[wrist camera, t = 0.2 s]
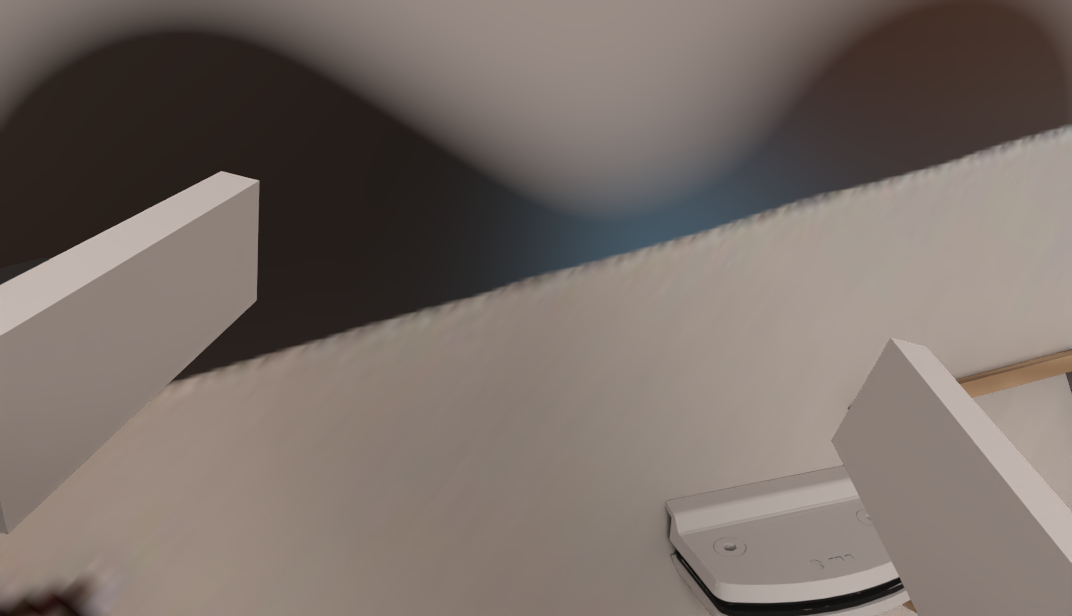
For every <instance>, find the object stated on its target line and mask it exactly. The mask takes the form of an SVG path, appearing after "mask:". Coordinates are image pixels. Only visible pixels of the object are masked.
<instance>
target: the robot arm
mask: <svg viewBox="0 0 1072 616" xmlns="http://www.w3.org/2000/svg"><path fill="white" fill-rule="evenodd" d="M258 210H259V181H258V180H254V179H250V178H246V177H242V176H238V175H234V174H230V173H226V172H222V171H221V172H219V173H217V174H215V175H213V176H211V177H209V178H207V179H205V180H203V181H201V182H200V183H198V184H196V185H194V186H192V187H190V188H188V189H186V190H184V191H182V192H180V193H178V194H176V195H174V196H172V197H170V198H168V199H166V200H165V201H163V202H161V203H159V204H157V205H155V206H153V207H151V208H149V209H147V210H145V211H143V212H141V213H139V214H137V215H135V216H133V217H132V218H130V219H128V220H126V221H124V222H122V223H120V224H118V225H116V226H114V227H112V228H110V229H108V230H106V231H104V232H102V233H100V234H98V235H97V236H95V237H93V238H91V239H89V240H87V241H85V242H83V243H81V244H79V245H77V246H75V247H73V248H71V249H69V250H68V251H65V252H63V253H62V254H60V255H58V256H56V257H54V258H52V259H46V258H41V259H37V260H33V261H29V262H25V263H21V264H17V265H13V266H9V267H5V268H3V269H0V532H1V533H5V534H9V533H10V532H11V531H12V530H13V529H14V528H15V527H16V526H17V525H18V524H20V523H21V522H22V521H23V520H24V519H25V518H26V517H27V516H28V515H29V514H30V513H31V512H32V511H33V510H34V509H35V508H37V507H38V506H39V505H40V504H41V503H42V502H43V501H44V500H45V499H46V498H47V497H48V496H49V495H50V494H51V493H52V492H53V491H55V490H56V489H57V488H58V487H59V486H60V485H61V484H62V483H63V482H64V481H65V480H66V479H67V478H68V477H69V476H70V475H72V474H73V473H74V472H75V471H76V470H77V469H78V468H79V467H80V466H81V465H82V464H83V463H84V462H85V461H86V460H87V459H89V458H90V457H91V456H92V455H93V454H94V453H95V452H96V451H97V450H98V449H99V448H100V447H101V446H102V445H103V444H104V443H105V442H107V441H108V440H109V439H110V438H111V437H112V436H113V435H114V434H115V433H116V432H117V431H118V430H119V429H120V428H121V427H122V426H124V425H125V424H126V423H127V422H128V421H129V420H130V419H131V418H132V417H133V416H134V415H135V414H136V413H137V412H138V411H139V410H141V409H142V408H143V407H144V406H145V405H146V404H147V403H148V402H149V401H150V400H151V399H152V398H153V397H154V396H155V395H156V394H158V393H159V392H160V391H161V390H162V389H163V388H164V387H165V386H166V385H167V384H168V383H169V382H170V381H171V380H172V379H173V378H174V377H175V376H177V375H178V374H179V373H180V372H181V371H182V370H183V369H184V368H185V367H186V366H187V365H188V364H189V363H190V362H191V361H193V359H195V358H196V357H197V356H198V355H199V354H200V353H201V352H202V351H203V350H204V349H205V348H206V347H207V346H208V345H210V343H212V342H213V341H214V340H215V339H216V338H217V337H218V336H219V335H220V334H221V333H222V332H223V331H224V330H225V329H226V328H228V327H229V326H230V325H231V324H232V323H233V322H234V321H235V320H236V319H237V318H238V317H239V316H240V315H241V314H242V313H243V312H245V311H246V310H247V309H248V308H249V307H250V306H251V305H252V304H253V303H254V302H255V301H256V300H257V255H258V253H257V252H258ZM831 441H832V443H833V445H834V447H835V449H836V451H837V453H838V455H839V457H840V459H841V461H842V463H843V465H844V467H845V469H846V471H847V473H848V475H849V477H850V479H851V481H852V483H853V485H854V487H855V489H856V491H857V493H858V495H859V497H860V499H861V501H862V503H863V505H864V507H865V509H866V511H867V513H868V515H869V517H870V519H871V521H872V523H873V525H874V527H875V529H876V531H877V533H878V535H879V537H880V539H881V541H882V543H883V545H884V547H885V549H886V551H887V553H888V555H889V557H890V559H891V561H892V563H893V565H894V567H895V569H896V571H897V573H898V575H899V577H900V579H901V581H902V583H903V585H904V587H905V589H906V591H907V593H908V595H909V597H910V599H911V601H912V603H913V605H914V607H915V610H916V612H917V614H918V616H1072V512H1071V510H1070V509H1069V508H1068V507H1067V506H1066V505H1065V504H1064V502H1063V501H1062V500H1061V499H1060V498H1059V497H1058V496H1057V494H1056V493H1055V492H1054V491H1053V490H1052V489H1051V488H1050V487H1049V485H1048V484H1047V483H1046V482H1045V481H1044V480H1043V479H1042V477H1041V476H1040V475H1039V474H1038V473H1037V472H1036V471H1035V469H1034V468H1033V467H1032V466H1031V465H1030V464H1029V463H1028V462H1027V460H1026V459H1025V458H1024V457H1023V456H1022V455H1021V454H1020V452H1019V451H1018V450H1017V449H1016V448H1015V447H1014V446H1013V444H1012V443H1011V442H1010V441H1009V440H1008V439H1007V438H1006V437H1005V435H1004V434H1003V433H1002V432H1001V431H1000V430H999V429H998V427H997V426H996V425H995V424H994V423H993V422H992V421H991V419H990V418H989V417H988V416H987V415H986V414H985V413H984V412H983V410H982V409H981V408H980V407H979V406H978V405H977V404H976V402H975V401H974V400H973V399H972V398H971V397H970V396H969V394H968V393H967V392H966V391H965V390H964V389H963V388H962V387H961V385H960V384H959V383H958V382H957V381H956V380H955V379H954V377H953V376H952V375H951V374H950V373H949V372H948V371H947V369H946V368H945V367H944V366H943V365H942V364H941V363H940V362H939V360H938V359H937V358H936V357H935V356H934V355H933V354H932V352H931V351H930V350H929V349H928V348H927V347H926V346H922V345H918V344H914V343H910V342H906V341H902V340H898V339H894V338H890V340H889V341H888V343H887V345H886V346H885V348H884V350H883V352H882V353H881V355H880V357H879V359H878V360H877V362H876V364H875V366H874V367H873V369H872V371H871V372H870V374H869V376H868V378H867V379H866V381H865V383H864V385H863V386H862V388H861V390H860V391H859V393H858V395H857V397H856V398H855V400H854V402H853V404H852V405H851V407H850V409H849V410H848V412H847V414H846V416H845V417H844V419H843V421H842V423H841V424H840V426H839V428H838V430H837V431H836V433H835V435H834V436H833V438H832V440H831Z"/></svg>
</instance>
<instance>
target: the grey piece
mask: <svg viewBox="0 0 1072 616" xmlns="http://www.w3.org/2000/svg"><path fill="white" fill-rule="evenodd" d="M665 506H666V509H667V511H668V513H669V514H670V516H671V518H672V520H671V530H670V539H669V540H670V541H671V542H672V544H673V545H674V546H675V547H676V549H677V550H678V551H677V552H676V554H675V555H671V557H672V560H673V563H674V565H675V567H676V569H677V571H678V572H679V573H680V575H681V576H682V577H683V579H684V580H685V581H686V583H687V584H688V585H689V586H690V588H691V589H692V590H693V592H694V593H695V594H696V596H697V597H698V598H699V600H700V601H701V602H702V603H703V605H704V606H705V607H706V609H707V610H708V611H709V613H710V614H711V615H712V616H876V615H878V614H881V613H883V612H886V611H889V610H891V609H893V608H895V607H897V606H899V605H902V604H904V603H905V602H907V601H909V600H910V597H909V595H908V593H907V591H906V589H905V587H904V585H903V583H902V581H901V579H900V577H899V575H898V573H897V571H896V569H895V567H894V565H893V563H892V561H891V559H890V557H889V555H888V553H887V551H886V549H885V547H884V545H883V543H882V541H881V539H880V537H879V535H878V533H877V531H876V529H875V527H874V525H873V523H872V521H871V519H870V517H869V515H868V513H867V511H866V509H865V507H864V505H863V503H862V501H861V499H860V497H859V495H858V493H857V491H856V489H855V487H854V485H853V483H852V481H851V479H850V477H849V475H848V473H847V471H846V469H845V467H844V466H839V467H834V468H829V469H824V470H819V471H814V472H809V473H804V474H798V475H793V476H788V477H783V478H778V479H773V480H768V481H763V482H758V483H753V484H748V485H743V486H738V487H733V488H728V489H723V490H718V491H713V492H708V493H703V494H698V495H693V496H688V497H683V498H678V499H673V500H668V501H666V502H665Z"/></svg>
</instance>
